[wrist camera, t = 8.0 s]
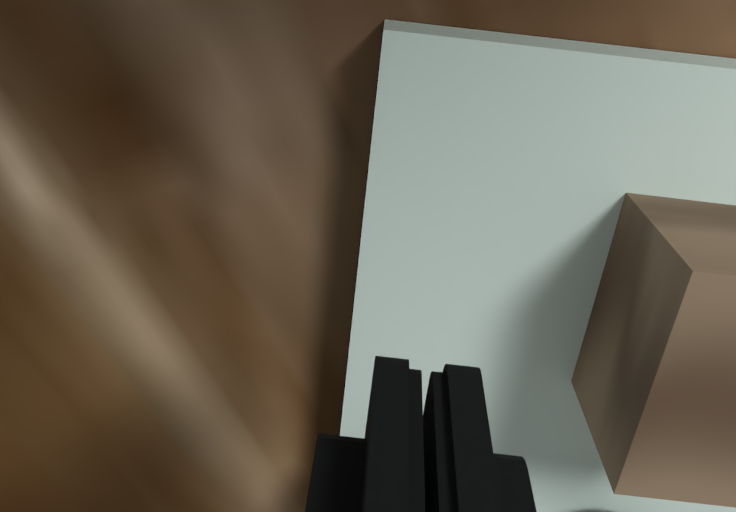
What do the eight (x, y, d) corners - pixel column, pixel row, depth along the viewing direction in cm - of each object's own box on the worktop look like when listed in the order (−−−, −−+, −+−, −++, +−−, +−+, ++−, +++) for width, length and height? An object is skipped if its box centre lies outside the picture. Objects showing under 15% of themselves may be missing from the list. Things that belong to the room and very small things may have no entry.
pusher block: (626, 192, 18) (692, 270, 14) (778, 210, 18) (889, 293, 14) (571, 381, 20) (614, 494, 16) (703, 396, 21) (779, 512, 16)
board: (384, 19, 18) (380, 50, 14) (1205, 111, 18) (1468, 171, 14) (331, 518, 26) (317, 642, 21) (907, 579, 26) (1013, 715, 22)
